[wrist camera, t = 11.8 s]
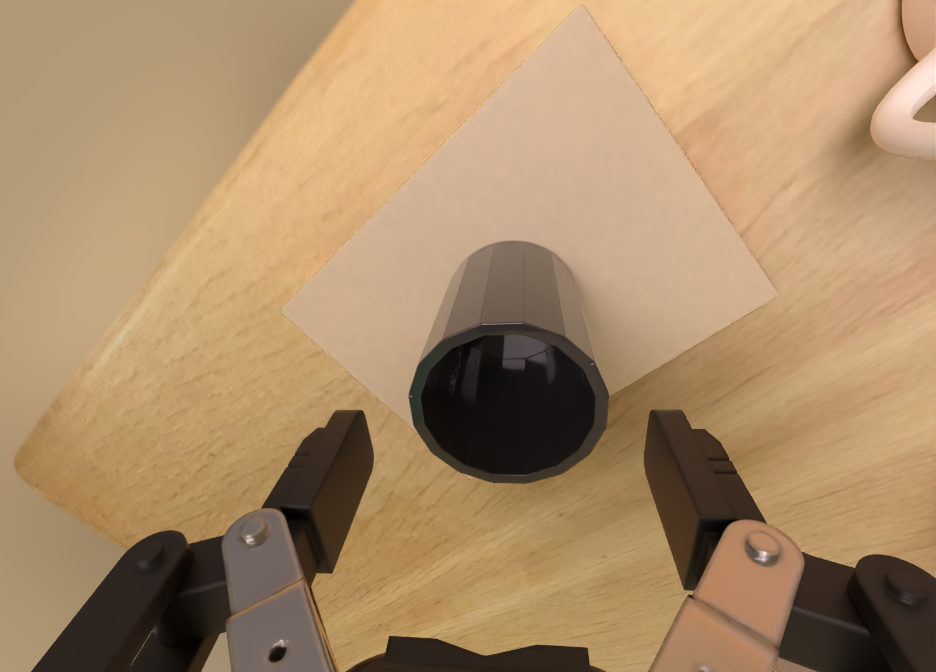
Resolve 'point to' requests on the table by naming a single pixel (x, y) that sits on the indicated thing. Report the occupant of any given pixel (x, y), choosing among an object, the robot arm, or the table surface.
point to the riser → (543, 226)
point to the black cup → (510, 369)
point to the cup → (911, 90)
